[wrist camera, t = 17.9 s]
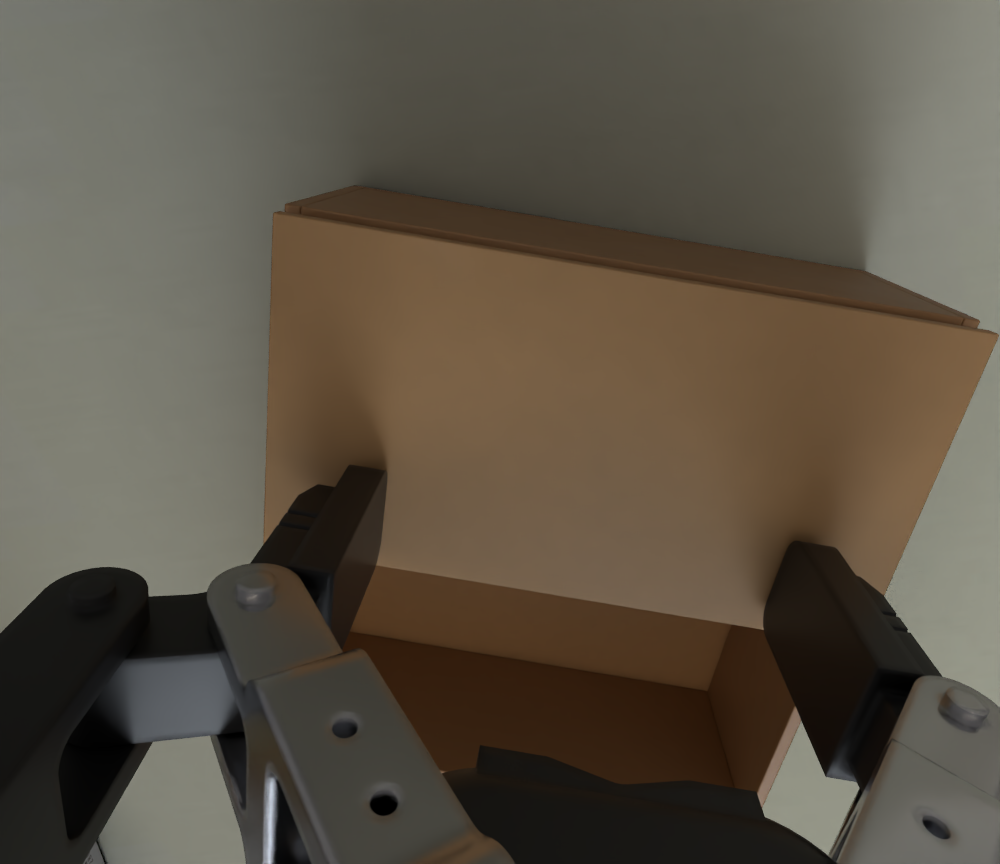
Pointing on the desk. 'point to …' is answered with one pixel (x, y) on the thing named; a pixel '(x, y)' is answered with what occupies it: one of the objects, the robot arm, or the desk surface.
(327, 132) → the desk surface
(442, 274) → the flap
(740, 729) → the carton
